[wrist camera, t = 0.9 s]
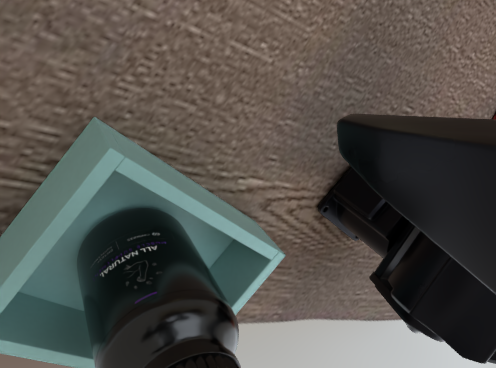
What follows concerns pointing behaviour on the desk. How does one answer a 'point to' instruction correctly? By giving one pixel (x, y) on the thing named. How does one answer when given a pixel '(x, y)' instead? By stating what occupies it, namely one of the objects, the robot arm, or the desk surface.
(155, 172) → the bin
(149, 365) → the supplement bottle
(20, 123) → the desk surface
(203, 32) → the desk surface
